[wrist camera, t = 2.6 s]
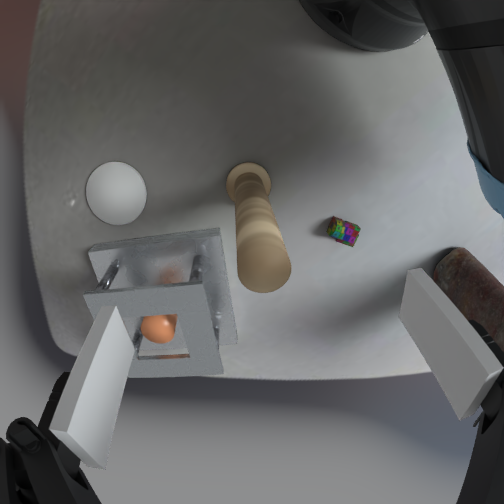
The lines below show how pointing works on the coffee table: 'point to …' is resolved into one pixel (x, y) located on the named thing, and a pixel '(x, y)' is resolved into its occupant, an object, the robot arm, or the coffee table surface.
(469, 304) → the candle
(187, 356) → the grey square frame
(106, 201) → the coaster
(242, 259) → the turned wooden spindle
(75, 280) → the coffee table surface
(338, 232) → the multicolour small angular block
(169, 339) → the breaker button
